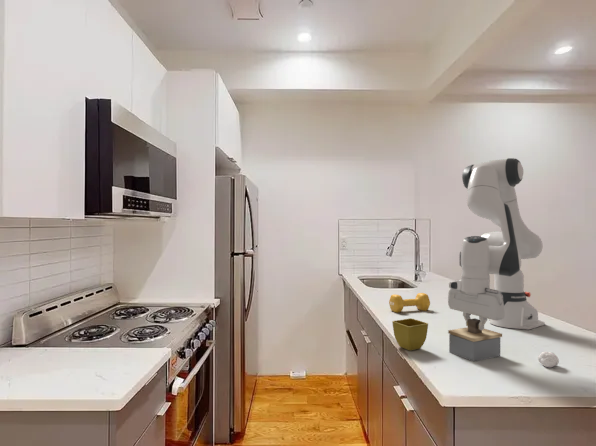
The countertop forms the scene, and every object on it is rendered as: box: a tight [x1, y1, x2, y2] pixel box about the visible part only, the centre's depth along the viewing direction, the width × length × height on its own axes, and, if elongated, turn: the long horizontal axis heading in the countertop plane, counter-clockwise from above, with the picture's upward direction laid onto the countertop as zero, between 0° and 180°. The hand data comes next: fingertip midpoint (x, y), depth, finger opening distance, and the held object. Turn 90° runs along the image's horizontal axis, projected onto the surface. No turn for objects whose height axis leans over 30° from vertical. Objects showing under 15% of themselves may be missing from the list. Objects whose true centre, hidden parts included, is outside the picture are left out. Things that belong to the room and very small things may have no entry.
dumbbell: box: [388, 292, 431, 314], centre depth 203 cm, size 19×9×8 cm, turn 106°
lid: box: [447, 318, 503, 342], centre depth 138 cm, size 13×11×6 cm
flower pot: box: [391, 318, 429, 352], centre depth 145 cm, size 9×9×9 cm
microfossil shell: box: [537, 351, 560, 368], centre depth 128 cm, size 4×5×6 cm
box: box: [448, 333, 501, 362], centre depth 138 cm, size 12×10×6 cm
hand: (474, 328), depth 138 cm, fingers closed on lid, 3 cm apart
